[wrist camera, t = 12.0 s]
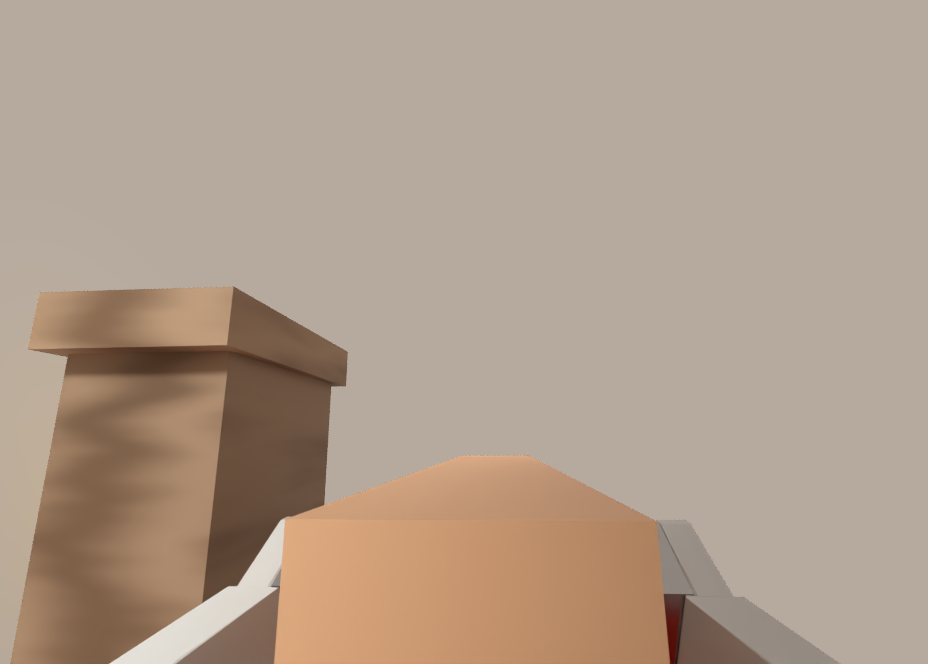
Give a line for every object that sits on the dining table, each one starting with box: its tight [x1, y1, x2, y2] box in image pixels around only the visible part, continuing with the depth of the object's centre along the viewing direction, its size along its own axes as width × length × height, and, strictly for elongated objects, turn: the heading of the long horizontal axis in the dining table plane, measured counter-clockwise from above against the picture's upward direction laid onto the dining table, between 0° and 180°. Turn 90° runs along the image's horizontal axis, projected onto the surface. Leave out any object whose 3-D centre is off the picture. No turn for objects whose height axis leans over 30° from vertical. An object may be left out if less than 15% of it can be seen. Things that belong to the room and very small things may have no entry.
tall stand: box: [10, 287, 348, 664], centre depth 19 cm, size 7×12×26 cm, turn 176°
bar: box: [274, 455, 670, 664], centre depth 16 cm, size 4×24×3 cm, turn 176°
